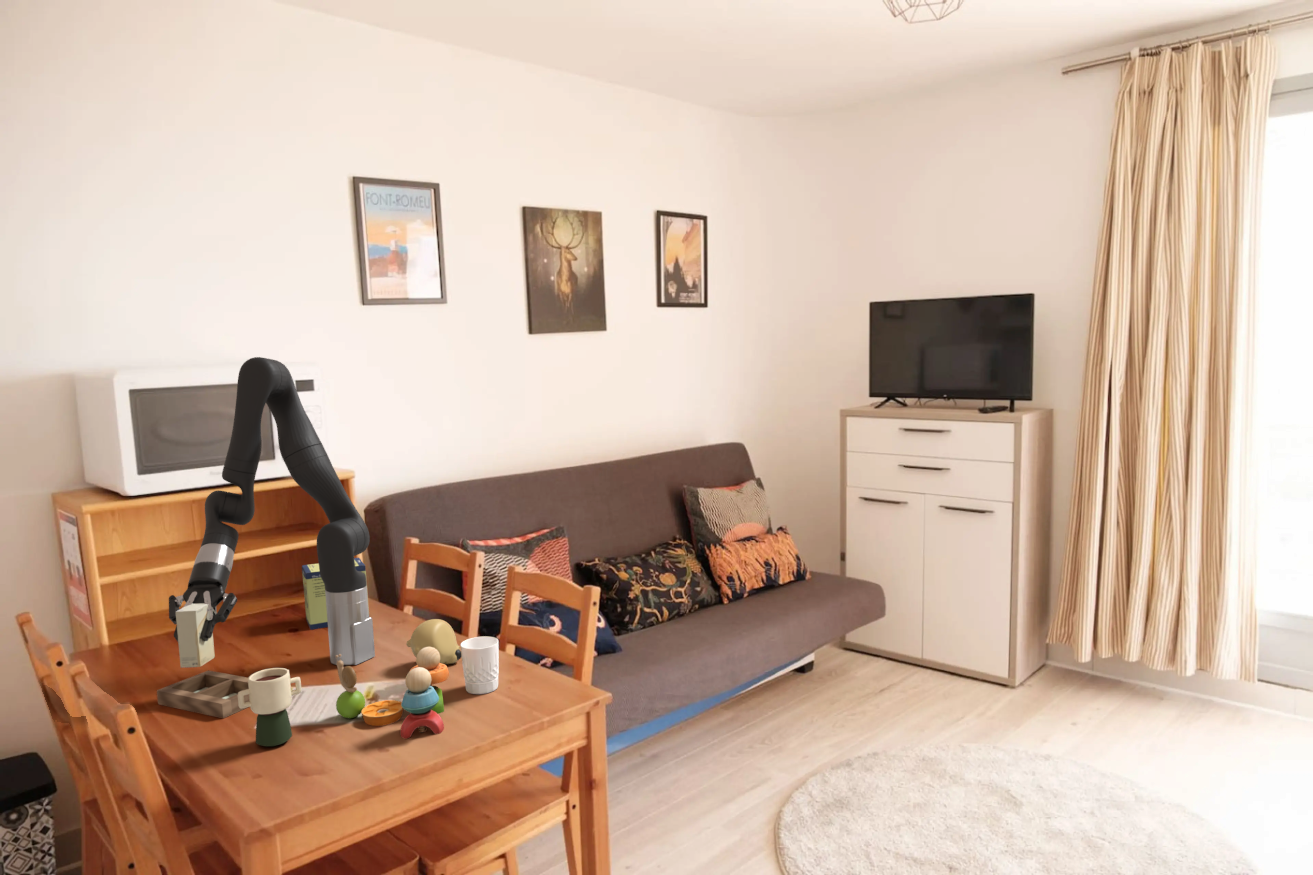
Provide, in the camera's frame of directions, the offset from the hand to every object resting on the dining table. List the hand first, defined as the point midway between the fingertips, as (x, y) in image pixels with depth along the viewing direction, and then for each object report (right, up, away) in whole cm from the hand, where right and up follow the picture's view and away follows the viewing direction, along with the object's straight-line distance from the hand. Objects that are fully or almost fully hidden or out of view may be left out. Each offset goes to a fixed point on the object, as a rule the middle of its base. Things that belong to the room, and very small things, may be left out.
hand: (191, 639), depth 179 cm
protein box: (+10, -8, +55) cm, 56 cm away
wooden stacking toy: (+50, -13, -13) cm, 53 cm away
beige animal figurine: (+47, -10, +17) cm, 51 cm away
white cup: (+60, -11, +2) cm, 61 cm away
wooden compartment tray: (+5, -13, +1) cm, 14 cm away
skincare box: (0, -6, +2) cm, 6 cm away
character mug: (+27, -14, -20) cm, 36 cm away
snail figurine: (+37, -13, -10) cm, 40 cm away
